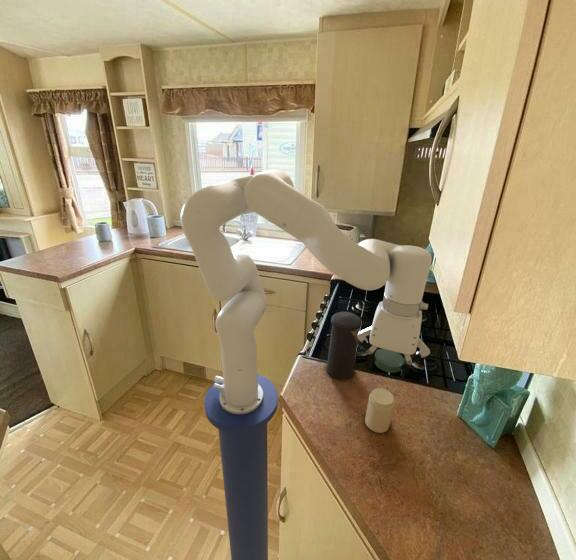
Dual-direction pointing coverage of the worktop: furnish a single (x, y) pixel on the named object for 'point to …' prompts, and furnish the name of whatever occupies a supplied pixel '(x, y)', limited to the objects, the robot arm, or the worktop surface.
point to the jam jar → (379, 410)
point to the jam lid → (388, 360)
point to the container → (343, 344)
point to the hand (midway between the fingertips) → (386, 368)
